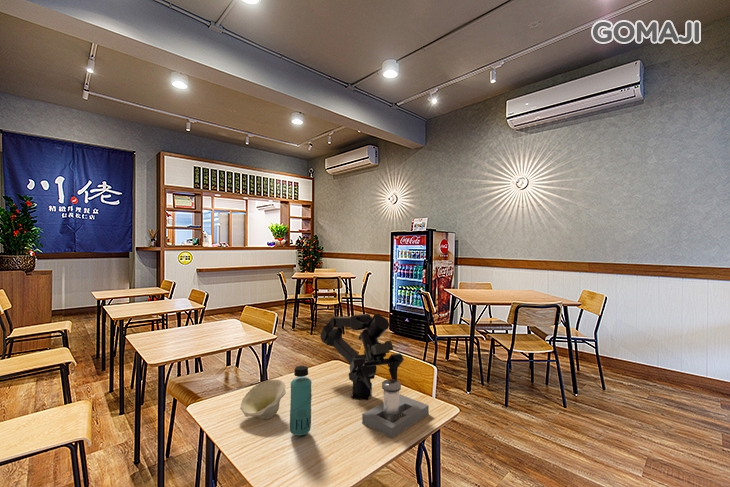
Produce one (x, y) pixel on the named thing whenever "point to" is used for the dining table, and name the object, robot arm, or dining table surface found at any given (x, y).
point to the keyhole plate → (408, 409)
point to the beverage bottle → (300, 402)
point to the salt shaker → (391, 400)
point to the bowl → (263, 399)
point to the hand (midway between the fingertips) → (383, 387)
